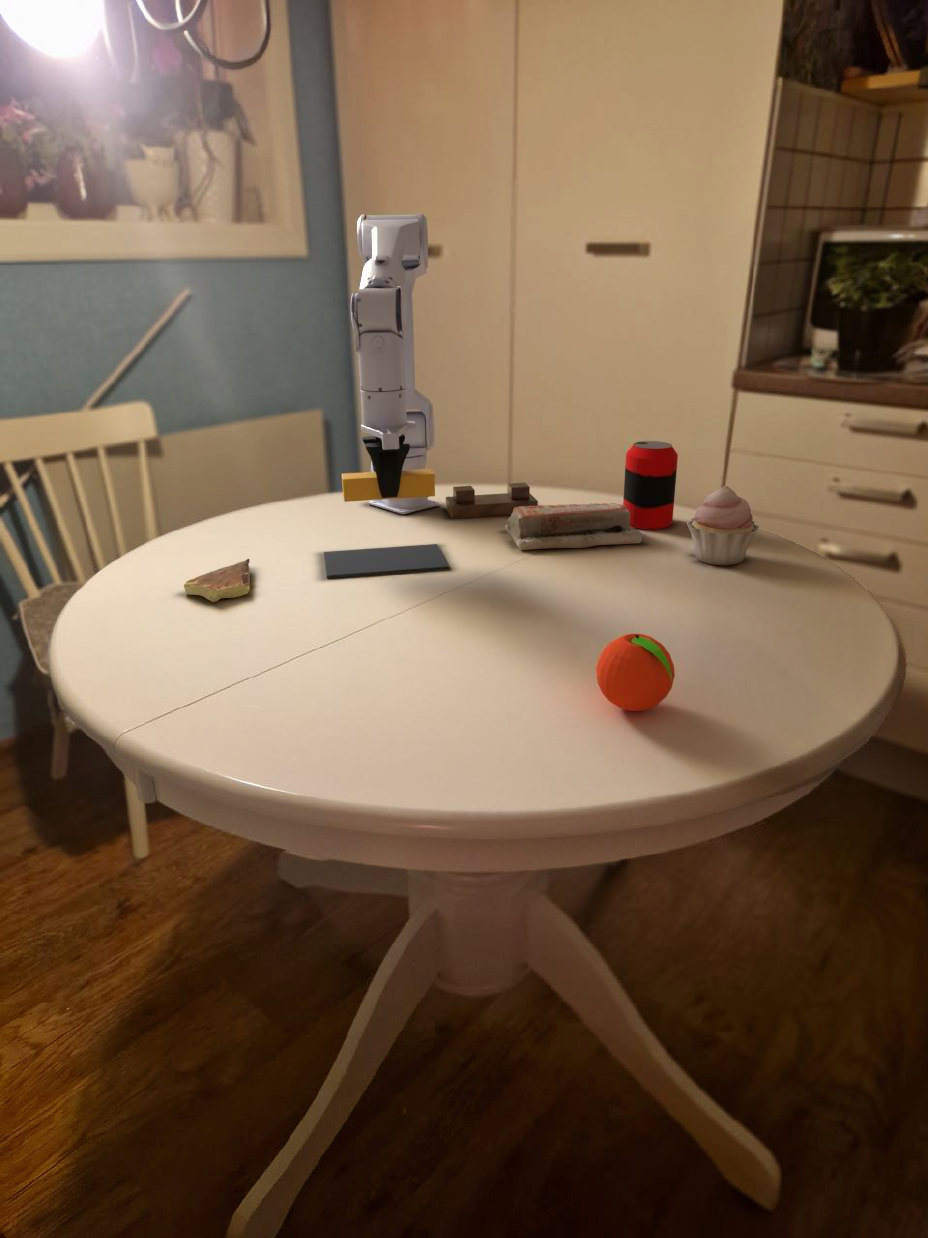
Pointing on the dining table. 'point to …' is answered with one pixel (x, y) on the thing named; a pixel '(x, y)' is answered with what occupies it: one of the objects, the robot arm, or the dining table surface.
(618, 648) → the clementine
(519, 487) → the brown two-peg stand
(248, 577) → the shard
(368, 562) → the mat
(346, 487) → the bar
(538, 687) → the dining table surface
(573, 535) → the packaged product
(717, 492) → the cupcake
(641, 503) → the soda can
